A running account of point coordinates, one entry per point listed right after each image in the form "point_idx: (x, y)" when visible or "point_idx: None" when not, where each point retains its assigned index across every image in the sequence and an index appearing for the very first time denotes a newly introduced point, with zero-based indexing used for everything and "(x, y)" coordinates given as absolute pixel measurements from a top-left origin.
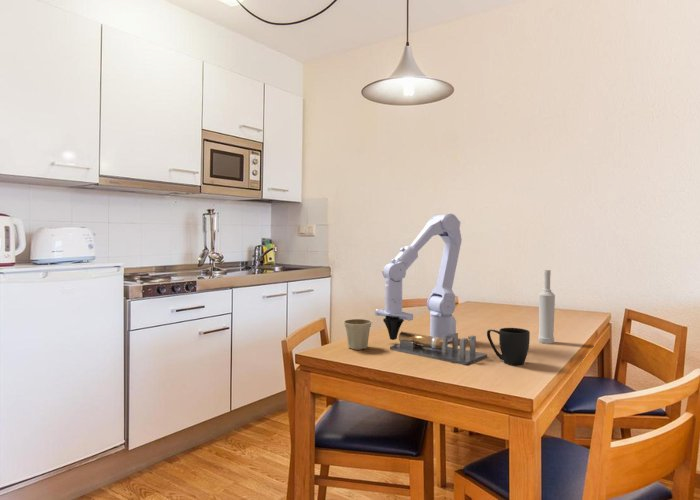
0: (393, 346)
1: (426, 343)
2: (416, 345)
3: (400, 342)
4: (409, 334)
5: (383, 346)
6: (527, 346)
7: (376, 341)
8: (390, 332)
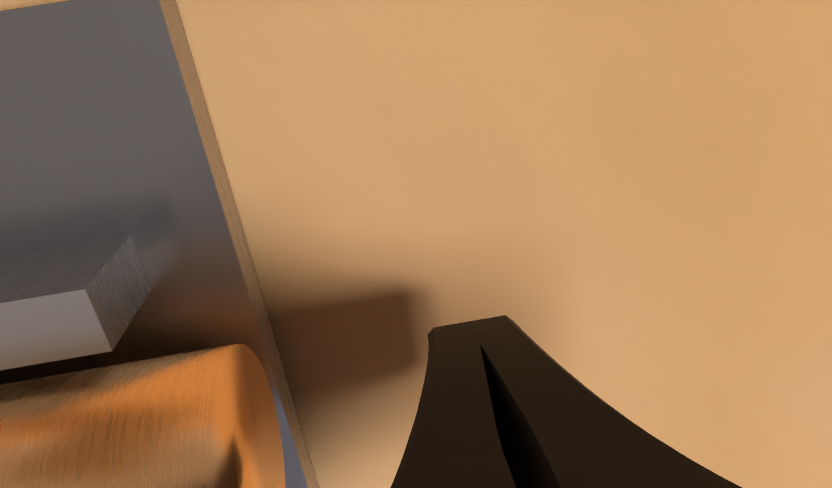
0: (148, 83)
1: None
2: None
3: (92, 267)
4: None
5: (456, 66)
6: None
7: (799, 230)
8: (512, 398)
